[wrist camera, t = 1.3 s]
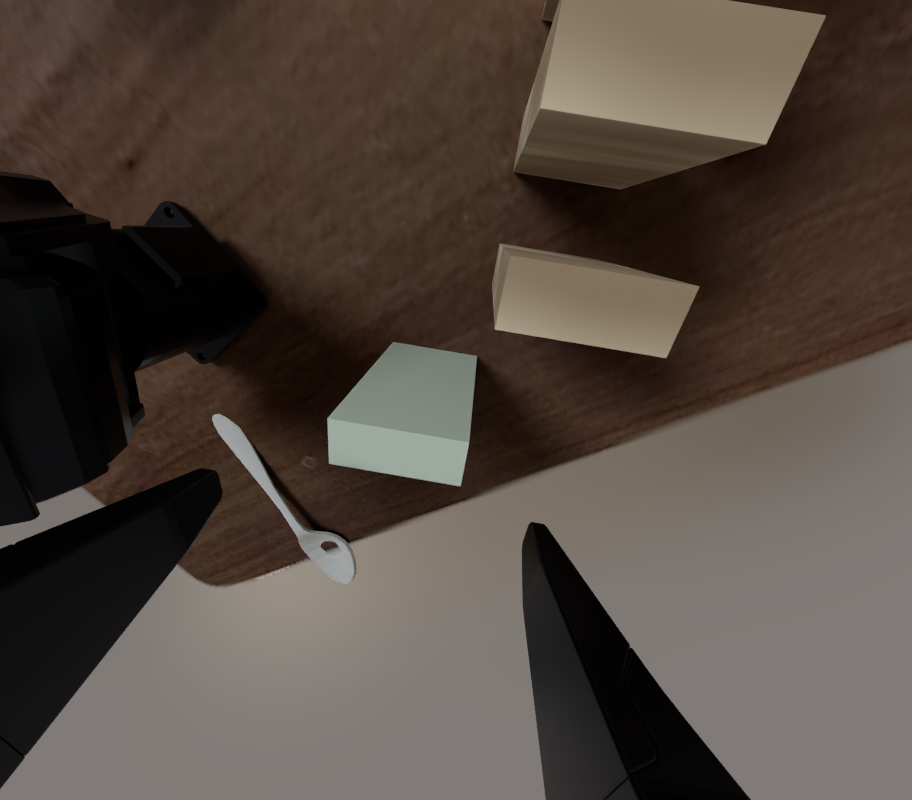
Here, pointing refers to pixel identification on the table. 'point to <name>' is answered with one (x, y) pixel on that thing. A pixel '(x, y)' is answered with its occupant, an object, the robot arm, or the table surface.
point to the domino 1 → (408, 416)
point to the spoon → (334, 562)
